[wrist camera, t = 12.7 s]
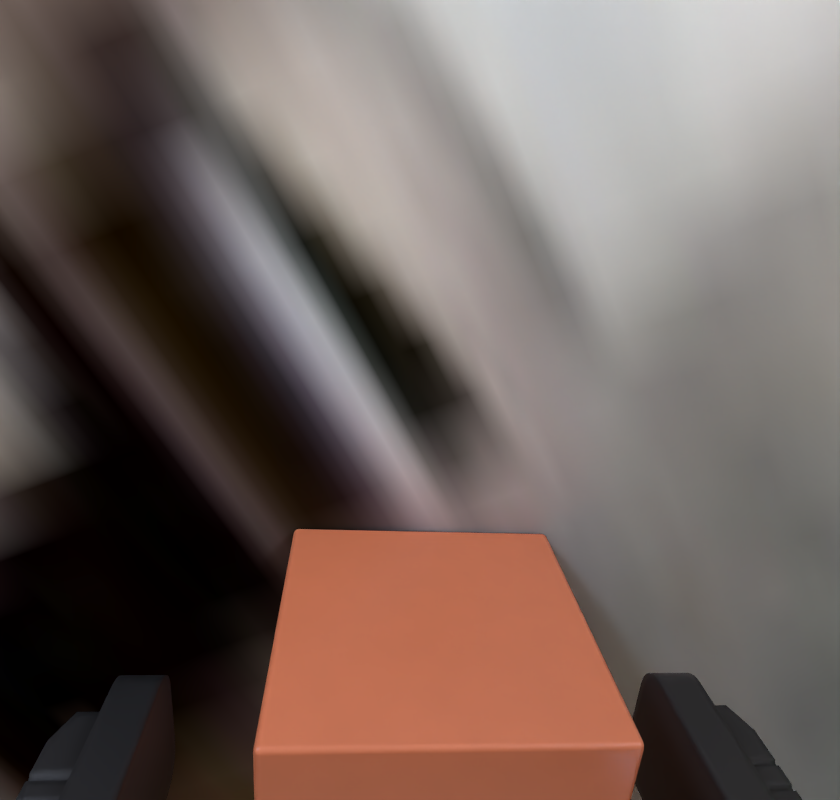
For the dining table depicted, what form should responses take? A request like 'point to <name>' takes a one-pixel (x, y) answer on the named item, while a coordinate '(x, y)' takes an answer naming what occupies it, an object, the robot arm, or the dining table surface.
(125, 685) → the robot arm
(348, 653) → the block
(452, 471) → the dining table surface
